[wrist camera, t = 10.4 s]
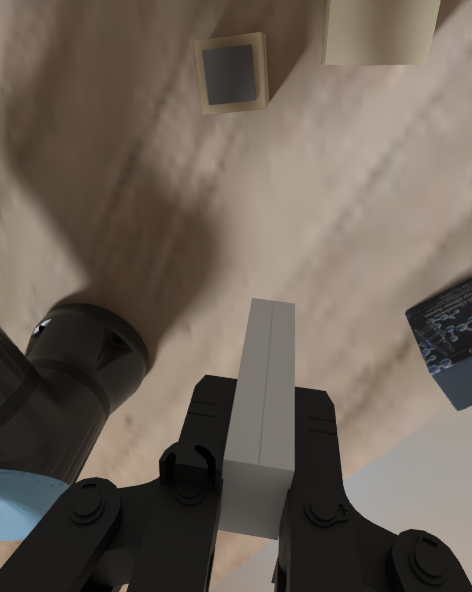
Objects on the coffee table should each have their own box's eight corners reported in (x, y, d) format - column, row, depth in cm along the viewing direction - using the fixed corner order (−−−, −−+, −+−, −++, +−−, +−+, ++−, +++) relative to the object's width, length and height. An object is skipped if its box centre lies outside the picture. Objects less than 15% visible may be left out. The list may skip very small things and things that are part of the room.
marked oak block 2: (214, 107, 36) (201, 115, 31) (206, 43, 34) (191, 40, 29) (269, 102, 35) (265, 109, 30) (265, 35, 33) (260, 31, 28)
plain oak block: (320, 64, 33) (324, 65, 28) (329, -44, 30) (336, -65, 25) (406, 63, 33) (427, 64, 28) (427, -48, 29) (455, -70, 24)
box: (473, 274, 41) (523, 335, 32) (496, 312, 43) (549, 380, 34) (402, 311, 44) (429, 376, 35) (426, 344, 46) (458, 414, 37)
